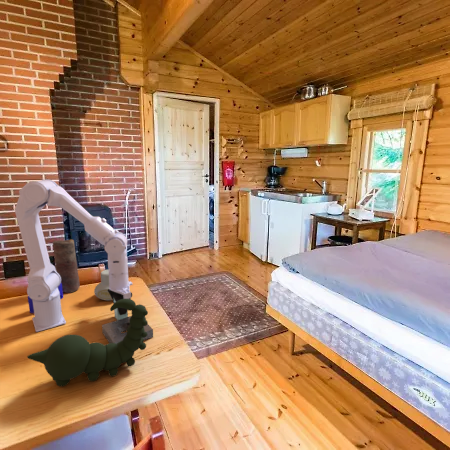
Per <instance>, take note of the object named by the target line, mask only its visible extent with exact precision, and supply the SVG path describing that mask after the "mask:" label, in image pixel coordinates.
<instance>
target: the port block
mask: <svg viewBox="0 0 450 450" xmlns="http://www.w3.org/2000/svg"><path fill="white" fill-rule="evenodd" d="M131 316H132V315H131ZM131 316H129V315H128V317H126V318H123V319H120V320H117V319H116V320H114V321H111V322H108V323H104V324H101V330H102V331H101V332H102V334H103V336H104V337H105V339H106V340H107V342H108V344H109V343H116V344H117V343H118V342H120V341H123V338H124V337H125V335H126V334H127V329H128V327H129V325H130V323H129V320H130V317H131ZM144 329H145V331H146V333H147V336H146V337H145V338H143V337H142V338H143V339H144V341H146V340H149V339H151V338H154V328H152V326H151V325H149V323H148V324H147V325H146V326H144Z"/></svg>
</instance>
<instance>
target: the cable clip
mask: <svg viewBox="0 0 450 450" xmlns="http://www.w3.org/2000/svg"><path fill="white" fill-rule="evenodd" d="M58 290H59V292H60V301H61V300H62V299H63V298H64V292H63V290H62V283H60V285H59V286H58ZM27 302H28V309H29V313H30V314H34V308H33V300H32V299H31V298H30V297H29V296H28V295H27Z"/></svg>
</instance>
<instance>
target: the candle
mask: <svg viewBox="0 0 450 450" xmlns="http://www.w3.org/2000/svg"><path fill="white" fill-rule="evenodd" d="M52 247H53V248H52V249H53V255H54V264H55V269H56V272H57V273H58V274H59V275H60V277H61V283H62V290H63V293H67V294H71V293H74V292H76V291H78V290H79V289H80V286H81V285H80V278H79V277H80V276H79V272H78V271H79V270H78V261H77V256H76V254H77V253H76V247H75V240H74V239H73V238H72V239H71V238H70V239H67V240H56V241H53V242H52Z"/></svg>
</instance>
